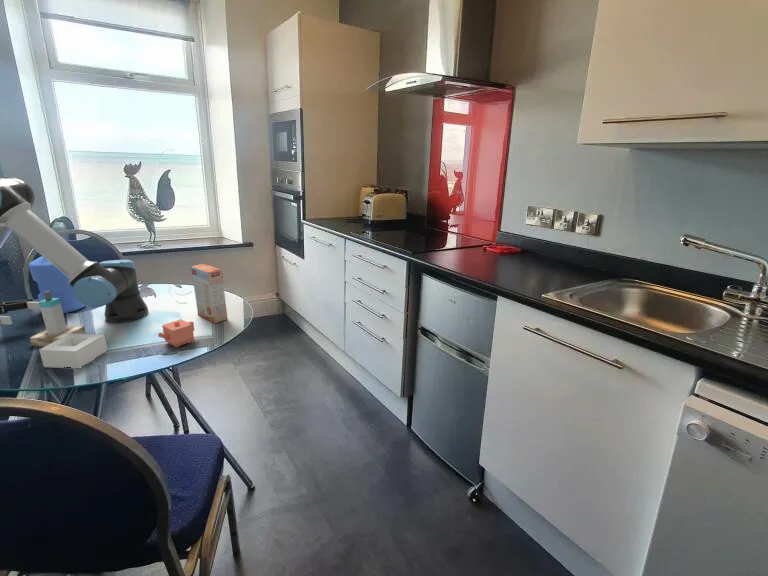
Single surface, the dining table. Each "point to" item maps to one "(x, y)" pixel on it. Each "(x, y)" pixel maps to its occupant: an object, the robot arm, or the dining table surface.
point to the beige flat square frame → (46, 339)
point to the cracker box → (209, 292)
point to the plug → (53, 315)
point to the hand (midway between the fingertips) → (28, 312)
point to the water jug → (54, 284)
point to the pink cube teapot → (178, 332)
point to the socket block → (73, 350)
